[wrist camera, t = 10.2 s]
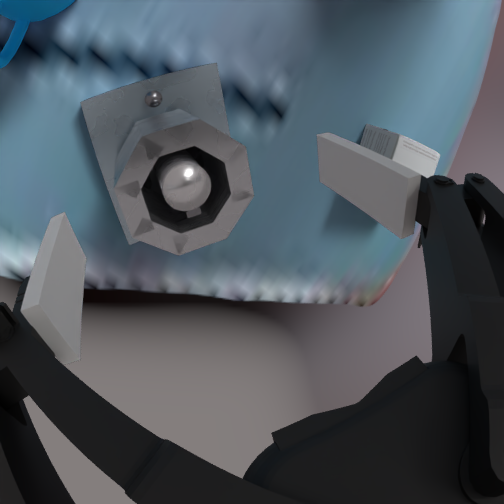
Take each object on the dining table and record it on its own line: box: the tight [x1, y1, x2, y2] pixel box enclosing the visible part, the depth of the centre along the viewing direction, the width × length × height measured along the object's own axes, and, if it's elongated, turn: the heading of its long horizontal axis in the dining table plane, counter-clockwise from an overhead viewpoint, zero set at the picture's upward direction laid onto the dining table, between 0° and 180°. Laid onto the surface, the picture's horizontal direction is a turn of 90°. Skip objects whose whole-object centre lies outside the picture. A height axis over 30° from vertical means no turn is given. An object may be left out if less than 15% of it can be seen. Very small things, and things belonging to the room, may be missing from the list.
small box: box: [360, 124, 440, 178], centre depth 30 cm, size 8×8×5 cm
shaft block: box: [80, 63, 230, 245], centre depth 20 cm, size 12×10×9 cm
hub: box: [114, 109, 254, 256], centre depth 19 cm, size 7×7×6 cm
